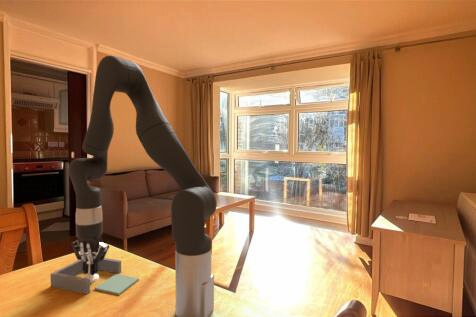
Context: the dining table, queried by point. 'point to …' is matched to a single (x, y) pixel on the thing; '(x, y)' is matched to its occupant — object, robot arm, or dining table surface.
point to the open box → (70, 282)
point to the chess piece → (89, 276)
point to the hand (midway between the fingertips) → (90, 273)
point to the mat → (117, 284)
